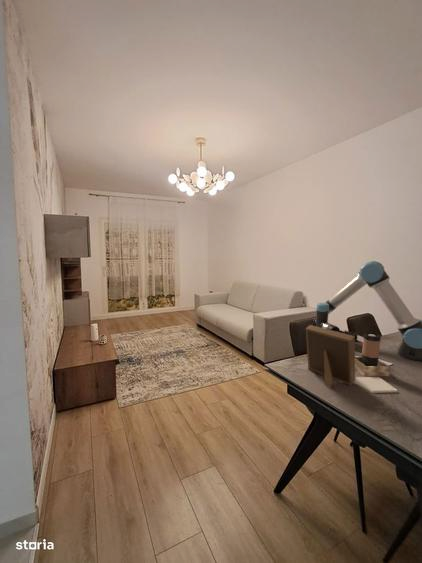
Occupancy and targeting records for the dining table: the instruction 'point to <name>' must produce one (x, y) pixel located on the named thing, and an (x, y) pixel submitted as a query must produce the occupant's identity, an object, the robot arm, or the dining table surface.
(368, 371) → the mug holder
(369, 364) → the travel mug
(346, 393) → the dining table surface
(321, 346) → the photo frame
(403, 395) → the dining table surface
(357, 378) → the pad
